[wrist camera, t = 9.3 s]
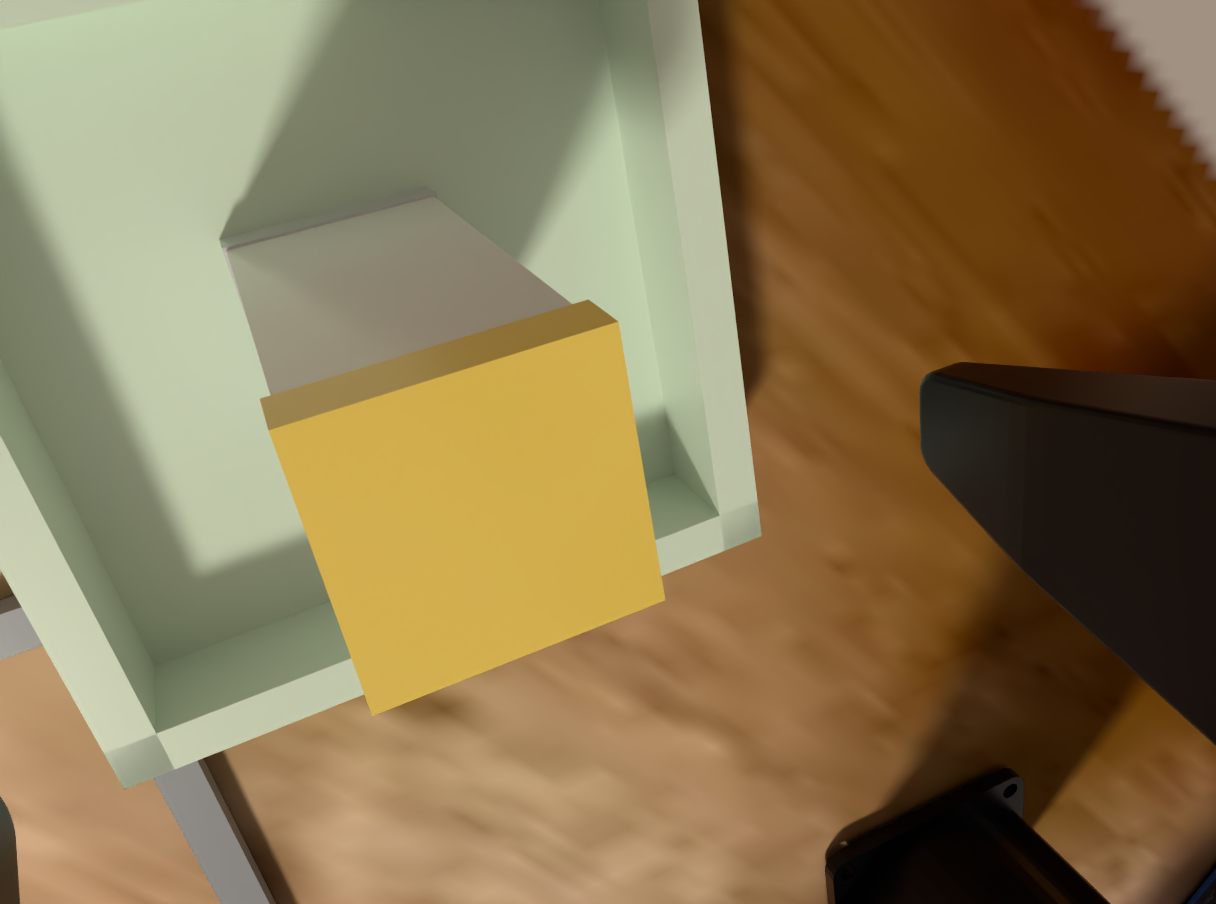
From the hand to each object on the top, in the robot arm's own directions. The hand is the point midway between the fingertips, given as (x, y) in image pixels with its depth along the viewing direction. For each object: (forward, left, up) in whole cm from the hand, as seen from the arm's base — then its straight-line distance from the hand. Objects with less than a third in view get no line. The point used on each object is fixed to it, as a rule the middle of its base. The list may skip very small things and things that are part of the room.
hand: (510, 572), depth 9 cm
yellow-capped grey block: (0, 0, -9) cm, 9 cm away
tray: (0, 0, -10) cm, 10 cm away
